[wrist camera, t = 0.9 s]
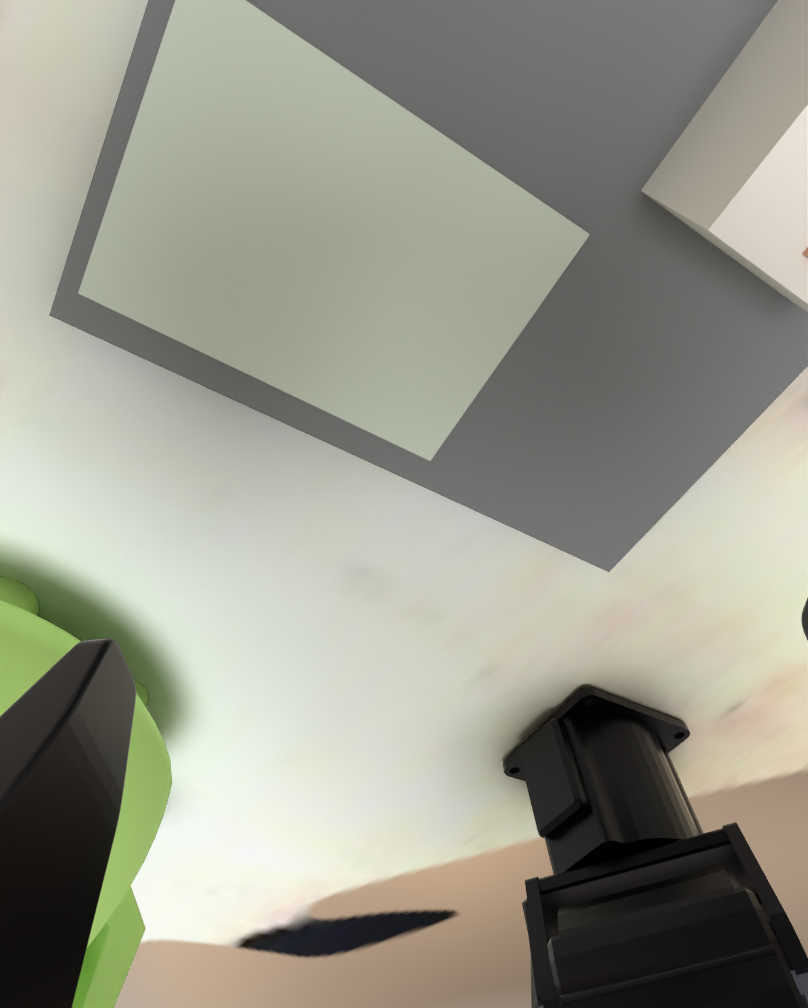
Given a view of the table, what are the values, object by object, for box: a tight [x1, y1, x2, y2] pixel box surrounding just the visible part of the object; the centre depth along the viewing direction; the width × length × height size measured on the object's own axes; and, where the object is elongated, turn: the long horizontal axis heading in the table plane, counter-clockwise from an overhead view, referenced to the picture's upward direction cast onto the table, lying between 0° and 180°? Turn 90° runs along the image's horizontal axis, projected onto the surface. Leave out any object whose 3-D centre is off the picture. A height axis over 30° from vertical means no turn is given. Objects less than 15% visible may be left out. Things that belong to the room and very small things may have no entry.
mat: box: [50, 0, 808, 572], centre depth 17 cm, size 20×22×1 cm
